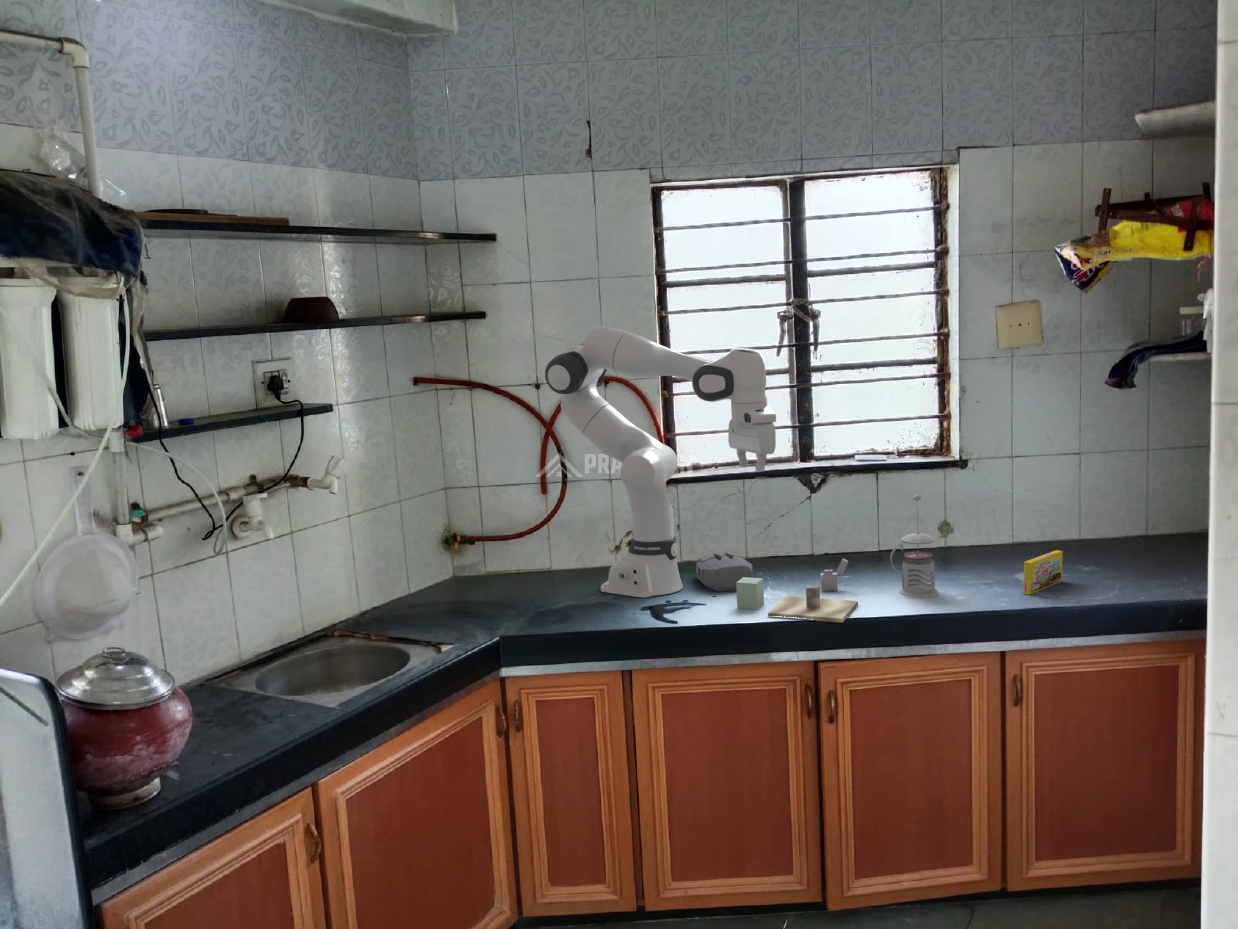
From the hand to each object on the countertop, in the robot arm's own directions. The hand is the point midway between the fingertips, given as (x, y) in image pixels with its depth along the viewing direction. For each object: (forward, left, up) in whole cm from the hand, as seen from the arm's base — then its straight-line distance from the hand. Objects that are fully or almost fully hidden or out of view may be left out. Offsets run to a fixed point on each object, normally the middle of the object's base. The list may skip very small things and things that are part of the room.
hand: (751, 469), depth 246 cm
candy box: (+65, +30, -34) cm, 79 cm away
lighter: (+16, +16, -34) cm, 41 cm away
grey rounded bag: (-15, +16, -34) cm, 41 cm away
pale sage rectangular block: (0, -4, -34) cm, 34 cm away
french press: (+36, +18, -34) cm, 52 cm away
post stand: (+16, -4, -34) cm, 38 cm away
